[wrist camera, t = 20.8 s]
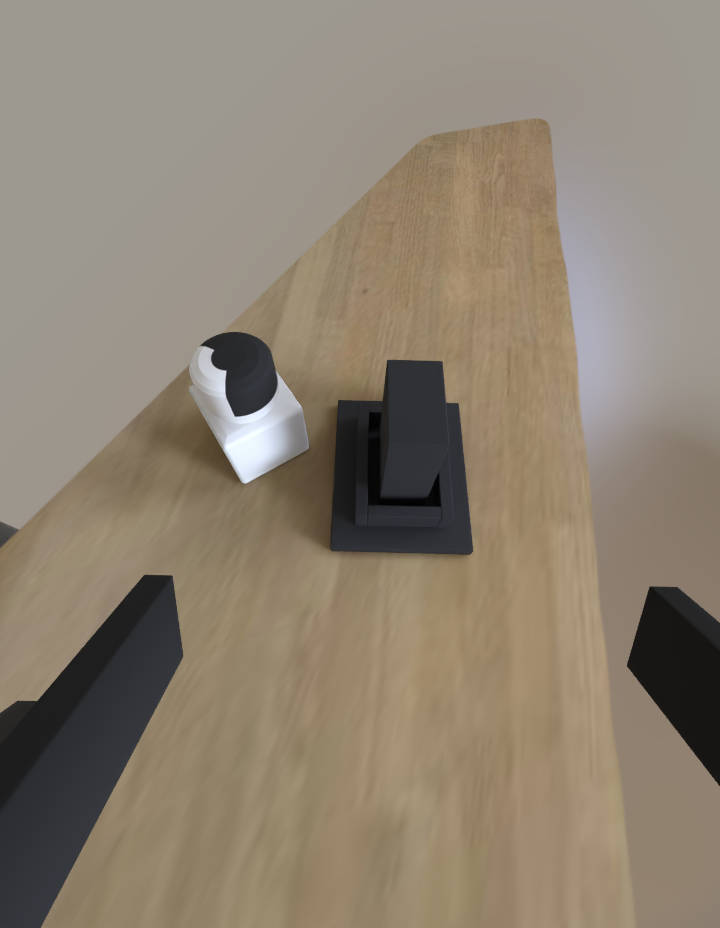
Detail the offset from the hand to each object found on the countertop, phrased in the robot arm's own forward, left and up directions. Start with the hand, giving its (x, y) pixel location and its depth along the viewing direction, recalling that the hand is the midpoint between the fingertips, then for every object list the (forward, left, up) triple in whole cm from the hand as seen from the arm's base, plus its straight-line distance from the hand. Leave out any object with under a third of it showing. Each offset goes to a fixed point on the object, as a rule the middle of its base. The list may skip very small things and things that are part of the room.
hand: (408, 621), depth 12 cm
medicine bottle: (-18, +13, -24) cm, 32 cm away
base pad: (-4, +15, -23) cm, 28 cm away
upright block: (-4, +15, -22) cm, 27 cm away
